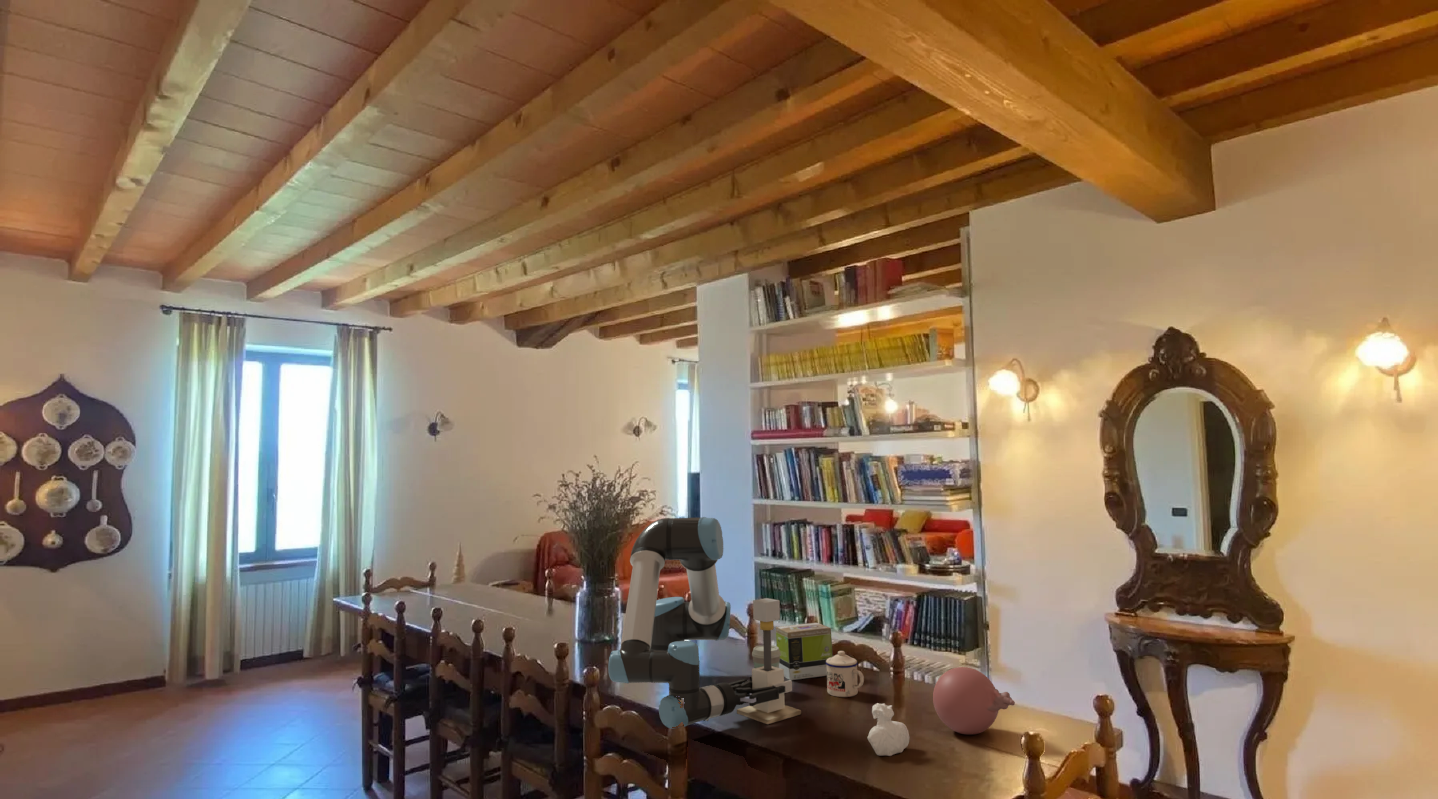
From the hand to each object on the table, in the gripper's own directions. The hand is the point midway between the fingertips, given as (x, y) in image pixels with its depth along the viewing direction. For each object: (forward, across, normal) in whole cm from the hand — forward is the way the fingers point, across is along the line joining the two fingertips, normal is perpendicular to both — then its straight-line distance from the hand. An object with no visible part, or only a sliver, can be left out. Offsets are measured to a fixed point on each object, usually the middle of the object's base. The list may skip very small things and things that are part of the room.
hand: (782, 682), depth 212 cm
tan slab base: (-5, 0, -7) cm, 9 cm away
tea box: (+29, -20, -7) cm, 37 cm away
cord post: (-5, 0, -7) cm, 9 cm away
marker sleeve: (-5, 0, -5) cm, 8 cm away
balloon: (+21, +46, -7) cm, 50 cm away
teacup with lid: (+23, +2, -7) cm, 24 cm away
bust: (-3, +38, -7) cm, 39 cm away
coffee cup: (+9, -16, -7) cm, 20 cm away
